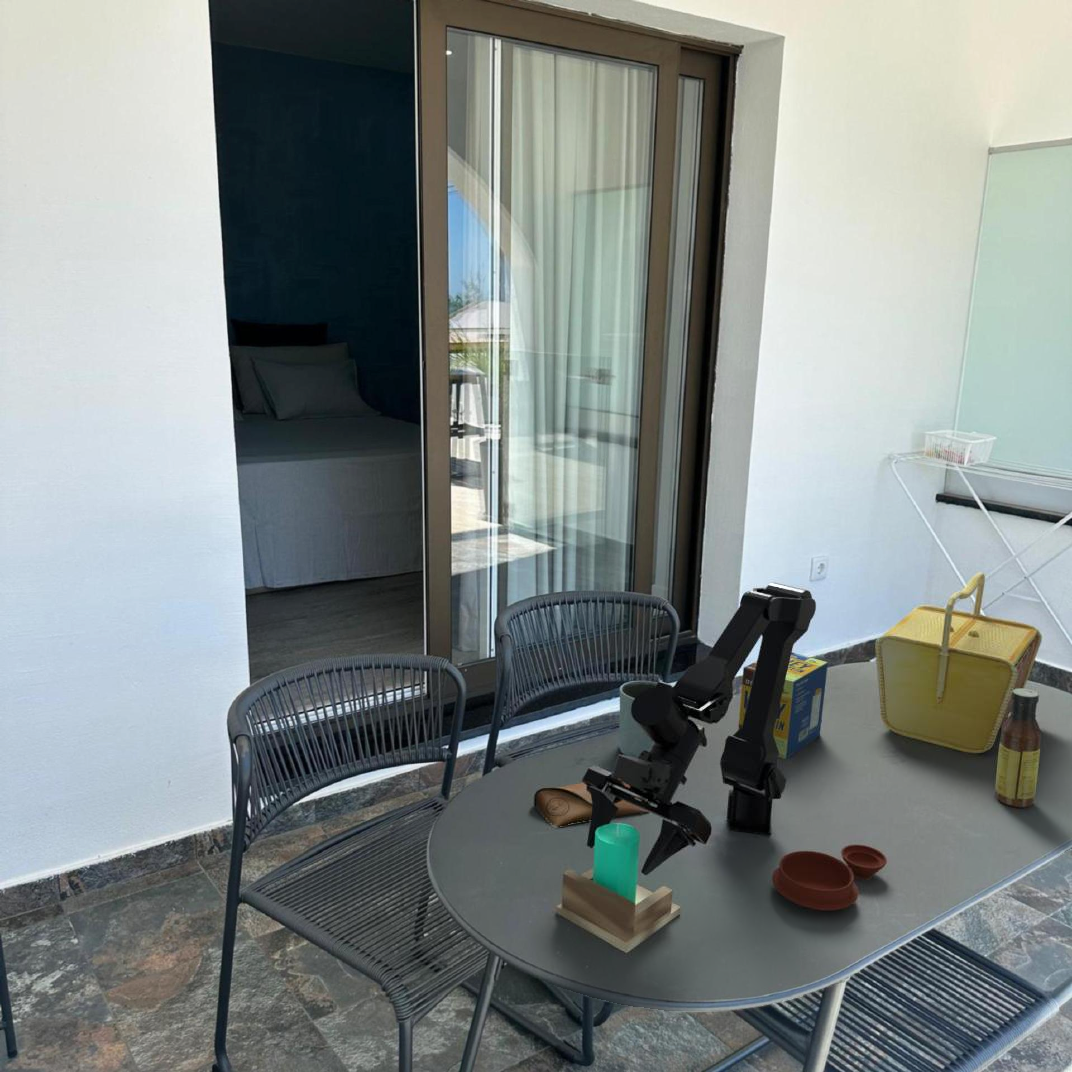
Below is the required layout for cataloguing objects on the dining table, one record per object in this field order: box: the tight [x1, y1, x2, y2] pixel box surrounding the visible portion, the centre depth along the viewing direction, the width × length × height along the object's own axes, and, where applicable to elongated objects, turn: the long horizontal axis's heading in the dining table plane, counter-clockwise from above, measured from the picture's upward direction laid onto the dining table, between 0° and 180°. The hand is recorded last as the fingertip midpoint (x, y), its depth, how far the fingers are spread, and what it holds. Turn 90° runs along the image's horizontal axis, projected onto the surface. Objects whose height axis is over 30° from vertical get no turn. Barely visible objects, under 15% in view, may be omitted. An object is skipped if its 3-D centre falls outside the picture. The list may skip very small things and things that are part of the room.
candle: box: [592, 822, 641, 903], centre depth 131 cm, size 6×6×12 cm
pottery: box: [771, 844, 888, 911], centre depth 139 cm, size 12×20×4 cm, turn 125°
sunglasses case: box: [533, 779, 650, 828], centre depth 160 cm, size 18×7×7 cm
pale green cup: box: [618, 680, 658, 758], centre depth 181 cm, size 10×10×12 cm
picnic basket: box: [874, 571, 1043, 754], centre depth 195 cm, size 29×26×30 cm
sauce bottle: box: [994, 688, 1042, 808], centre depth 165 cm, size 6×6×20 cm
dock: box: [555, 867, 682, 954], centre depth 131 cm, size 12×12×6 cm
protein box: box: [737, 651, 829, 760], centre depth 187 cm, size 10×15×16 cm
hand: (615, 860), depth 129 cm, fingers open, 9 cm apart
